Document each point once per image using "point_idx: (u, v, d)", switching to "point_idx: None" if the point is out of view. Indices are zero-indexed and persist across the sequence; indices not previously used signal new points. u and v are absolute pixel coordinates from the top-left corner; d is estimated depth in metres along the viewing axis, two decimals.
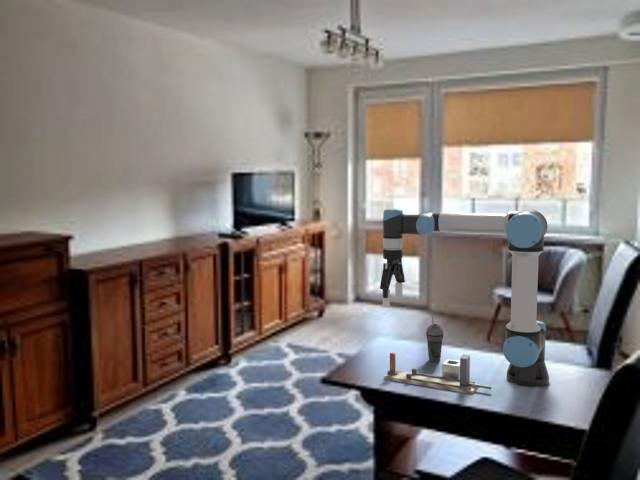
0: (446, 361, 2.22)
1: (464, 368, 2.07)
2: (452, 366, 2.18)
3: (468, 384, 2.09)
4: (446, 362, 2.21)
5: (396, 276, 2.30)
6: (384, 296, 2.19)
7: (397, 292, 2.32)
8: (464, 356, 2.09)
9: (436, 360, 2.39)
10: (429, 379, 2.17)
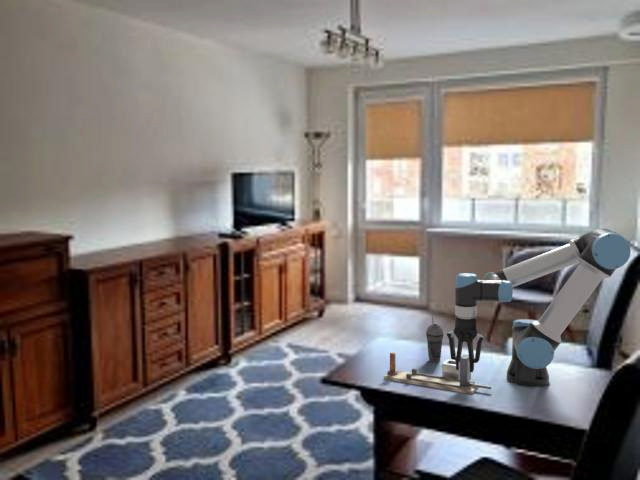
0: (446, 361, 2.22)
1: (464, 368, 2.07)
2: (452, 366, 2.18)
3: (468, 384, 2.09)
4: (446, 362, 2.21)
5: None
6: None
7: None
8: (464, 356, 2.09)
9: (436, 360, 2.39)
10: (429, 379, 2.17)
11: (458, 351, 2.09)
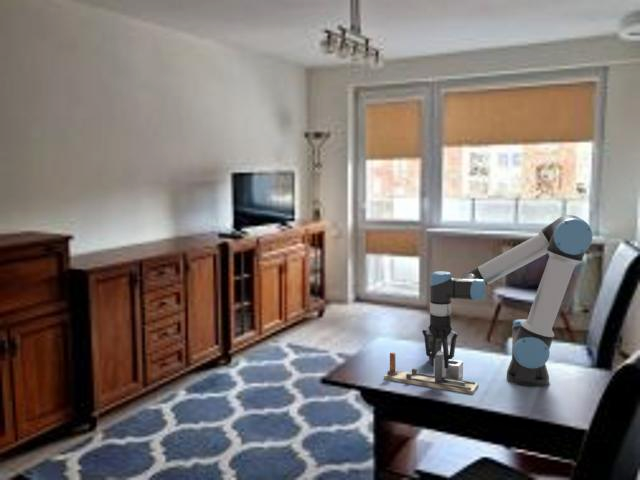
0: None
1: (438, 364, 2.12)
2: (452, 366, 2.18)
3: (443, 380, 2.14)
4: None
5: None
6: None
7: None
8: (439, 352, 2.14)
9: None
10: (429, 379, 2.17)
11: (433, 348, 2.13)
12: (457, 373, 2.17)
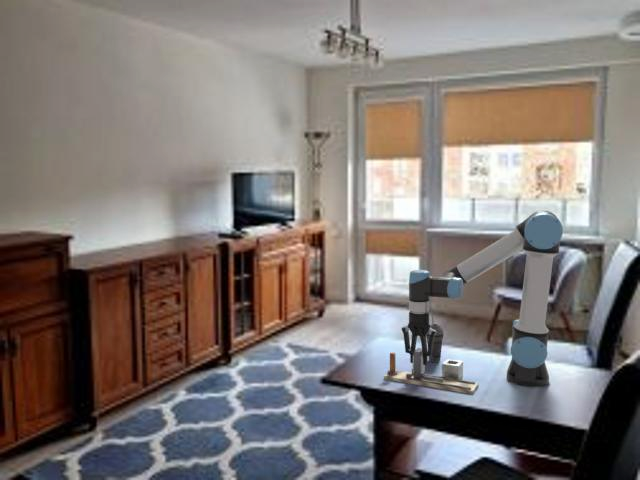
0: (446, 361, 2.22)
1: (417, 361, 2.16)
2: (452, 366, 2.18)
3: (422, 376, 2.17)
4: (446, 362, 2.21)
5: None
6: None
7: None
8: (418, 350, 2.18)
9: (436, 360, 2.39)
10: (429, 379, 2.17)
11: (412, 345, 2.17)
12: (457, 373, 2.17)
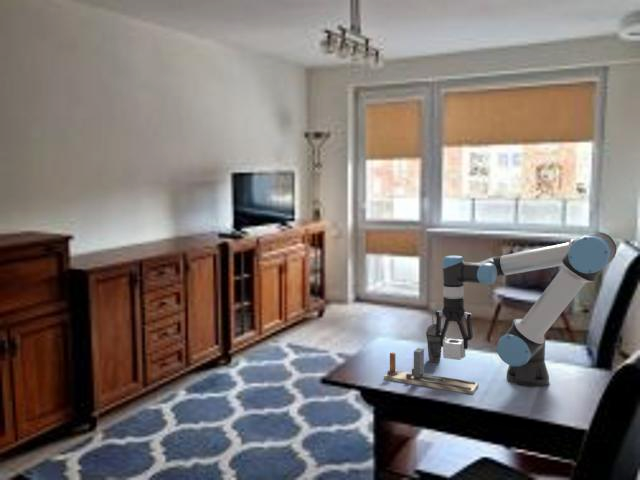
0: (447, 340, 2.21)
1: (417, 361, 2.16)
2: (454, 345, 2.17)
3: (422, 376, 2.17)
4: (447, 341, 2.20)
5: None
6: None
7: None
8: (418, 349, 2.18)
9: (436, 360, 2.39)
10: (429, 379, 2.17)
11: (444, 329, 2.20)
12: (459, 351, 2.16)
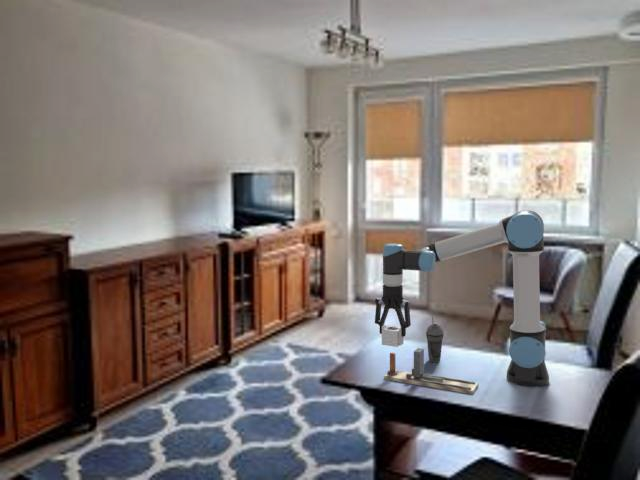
0: (386, 327, 2.23)
1: (417, 361, 2.16)
2: (391, 332, 2.18)
3: (422, 376, 2.17)
4: (386, 328, 2.22)
5: None
6: None
7: None
8: (418, 349, 2.18)
9: (436, 360, 2.39)
10: (429, 379, 2.17)
11: (383, 316, 2.21)
12: (396, 338, 2.18)
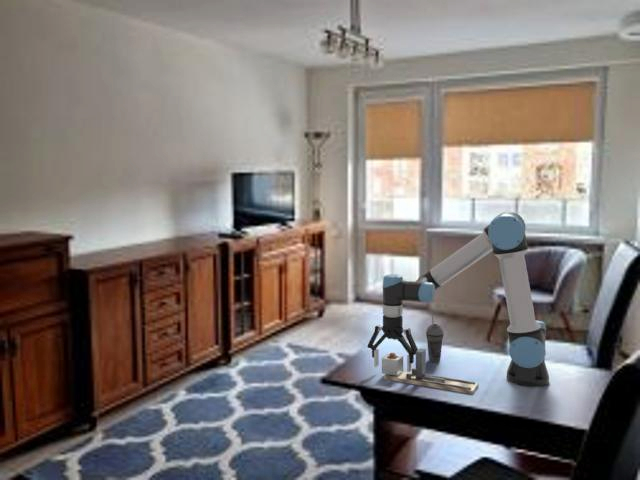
0: (386, 356, 2.24)
1: (419, 362, 2.15)
2: (391, 360, 2.20)
3: (424, 377, 2.17)
4: (386, 357, 2.23)
5: None
6: None
7: None
8: (420, 350, 2.17)
9: (436, 360, 2.39)
10: (429, 379, 2.17)
11: (378, 342, 2.24)
12: (396, 367, 2.19)
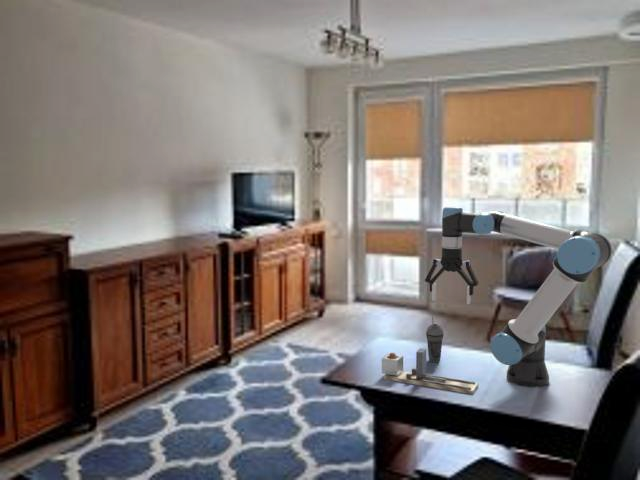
0: (386, 356, 2.24)
1: (420, 362, 2.15)
2: (391, 360, 2.20)
3: (424, 377, 2.17)
4: (386, 357, 2.23)
5: None
6: None
7: None
8: (420, 350, 2.17)
9: (436, 360, 2.39)
10: (429, 379, 2.17)
11: (436, 276, 2.23)
12: (396, 367, 2.19)
